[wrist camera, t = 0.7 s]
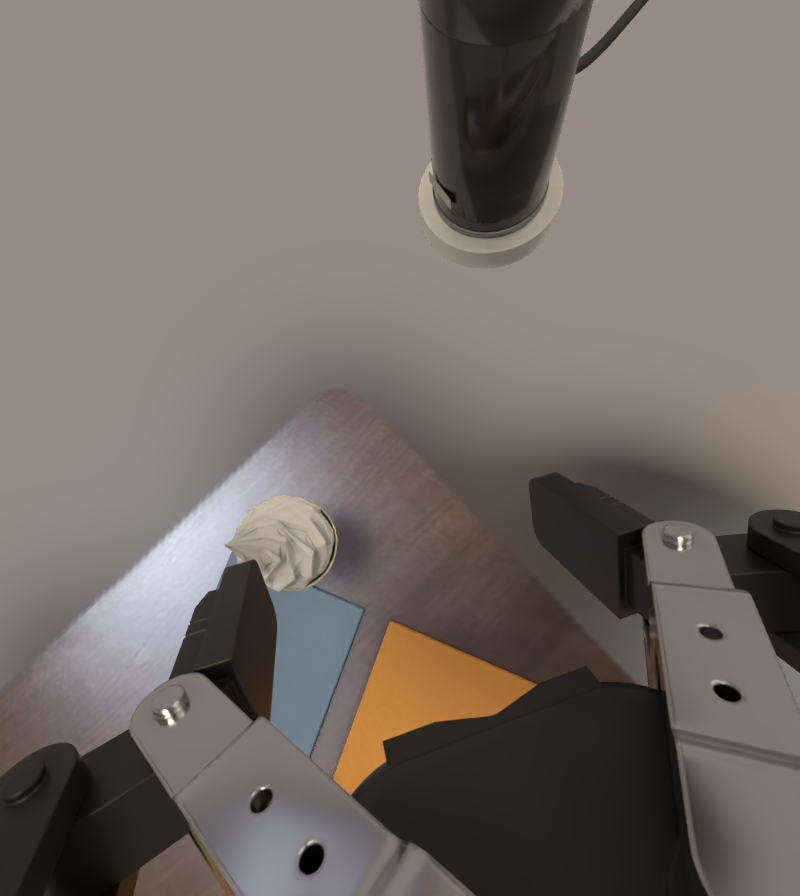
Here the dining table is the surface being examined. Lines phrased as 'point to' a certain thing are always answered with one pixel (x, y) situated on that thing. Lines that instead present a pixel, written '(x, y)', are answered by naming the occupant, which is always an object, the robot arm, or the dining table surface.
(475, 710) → the caramel pad
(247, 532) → the ice cream cone
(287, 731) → the slate pad
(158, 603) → the dining table surface
